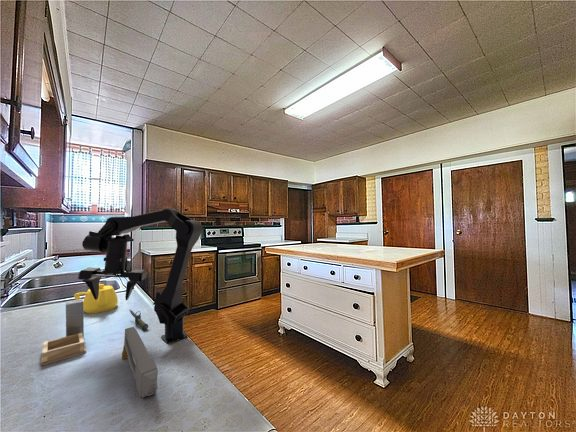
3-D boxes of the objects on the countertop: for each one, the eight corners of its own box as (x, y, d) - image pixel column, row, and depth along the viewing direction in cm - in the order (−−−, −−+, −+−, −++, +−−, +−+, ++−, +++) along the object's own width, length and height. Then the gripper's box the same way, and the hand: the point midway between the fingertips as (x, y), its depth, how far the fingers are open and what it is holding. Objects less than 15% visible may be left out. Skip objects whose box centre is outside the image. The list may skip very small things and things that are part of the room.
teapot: (73, 307, 117) (72, 284, 117) (113, 300, 127) (113, 278, 127) (75, 321, 100) (75, 293, 100) (121, 310, 111) (121, 286, 111)
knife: (126, 315, 101) (126, 303, 101) (131, 313, 103) (132, 301, 103) (142, 334, 89) (143, 320, 89) (149, 332, 91) (149, 319, 90)
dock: (85, 352, 75) (85, 341, 75) (40, 365, 69) (40, 354, 69) (83, 341, 82) (83, 332, 82) (41, 352, 76) (41, 342, 76)
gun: (138, 434, 56) (145, 382, 52) (117, 354, 73) (120, 310, 69) (154, 426, 58) (161, 375, 54) (130, 350, 75) (134, 307, 71)
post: (83, 337, 85) (83, 301, 86) (66, 341, 82) (66, 304, 83) (82, 333, 89) (82, 298, 89) (65, 337, 86) (65, 301, 86)
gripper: (153, 251, 96) (149, 293, 96) (97, 248, 92) (93, 291, 92) (143, 257, 85) (138, 303, 85) (79, 253, 81) (74, 302, 81)
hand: (111, 299), depth 86 cm, fingers open, 9 cm apart
